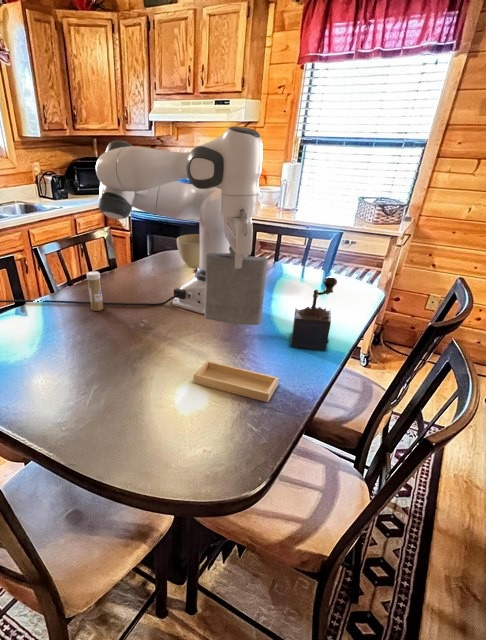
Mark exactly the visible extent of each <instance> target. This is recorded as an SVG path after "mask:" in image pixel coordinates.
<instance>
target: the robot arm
mask: <svg viewBox="0 0 486 640" xmlns="http://www.w3.org/2000/svg"><path fill="white" fill-rule="evenodd" d="M262 162H263V143H262V137H261V134H260V133H259V132H258V131H257V130H256V129H253V128H250V127H244V126H236V125H235V126H230V127H228V128H226V130H225V131H224V132H223V133H222V134H221V135H219V136H218V137H216V138H215V139H212V140H211V141H209V142H205V143H203V144H200V145H198V146H195V147H194V148H193V149H191V150H190V151H188V152H185V151H184V152H183V151H171V150H165V149H160V148H159V149H158V148H154V147H153V148H152V147H147V146H136V145H133V144H131V143H129V142H127V141H124V140H113V141H111V142H109V143H108V145H107V146H106V149H105V151H104V152H103V153H101V155H99V157H98V158H97V160H96V164H95V173H96V176H97V179H98V181H99V192H98V193H99V197H98V198H97V205H98V210H99V211H100V213H101V214H102V215H104V216H106V217H107V218H109V219H112V220H124V219H126V218H128V217H129V216H130V214H131V212H132V210H133V208H135V209H137V210H140V211H142V212H145V213H149V214H153V215H156V216H160V217H161V216H162V217H164V218H165V217H166V218H170V219H175V220H180V221H181V220H189V221H190V220H191V221H199V235H200V260H199V265H198V267H194V269H193V270H192V274H194V276H192V277H191V278H189V280H187V281H186V282H184V283H183V284H182V285H181V287H180V288H178V287H177V288H174V289H173V296H171V297H169V298H167V299H166V300H165V301H163V302H158V303H151V302H149V303H148V302H147V303H146V302H108V301H107V302H106V301H105V302H104V301H102V303H103V305H108V306H149V307H150V306H151V307H152V306H162V305H166V304H167V303H169V302H170V301H171V300H172V306H175V307H178V308H181V309H185V310H188V311H191V312H195V313H197V314H202V315H205V285H206V254H208V253H230V251H229V247H232V249H233V251H234V252H235V260H234V267H235V268H236V269H239V268H242V261H243V258H244V256H251V254H252V250H253V234H254V232H253V231H254V230H253V228H254V226H253V221H252V219H253V217H255V216H257V215H258V211H259V197H260V188H259V180H260V177H261V173H262ZM185 179H186V180H187V179H188V180H189V182H190V183H185V182H181V181H180V180H185ZM35 300H36V299H3V300H2V299H1V300H0V303H34V302H33V301H35ZM39 300H40V301H42V300H43V299H39ZM44 300H45V301H43V302H42V303H55V304H57V303H58V304H59V303H60V304H83V305H84V304H86V305H91V301H82V300H81V301H80V300H79V301H78V300H76V301H75V300H55V299H54V300H53V299H52V300H51V299H49V300H47V299H44ZM36 303H40V302H39V301H37V302H36Z"/></svg>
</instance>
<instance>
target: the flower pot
mask: <svg viewBox="0 0 486 640" xmlns="http://www.w3.org/2000/svg"><path fill="white" fill-rule="evenodd" d="M176 246H177V250H178V253H179V256H180V257H181V260H182V261H183V262H184V263H185V265H186V266H187V267H190V268H196V267H198V265H199V260H200V233H197V234H194V233H193V234H192V233H191V234H184V235H180V236H178V237H176Z"/></svg>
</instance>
